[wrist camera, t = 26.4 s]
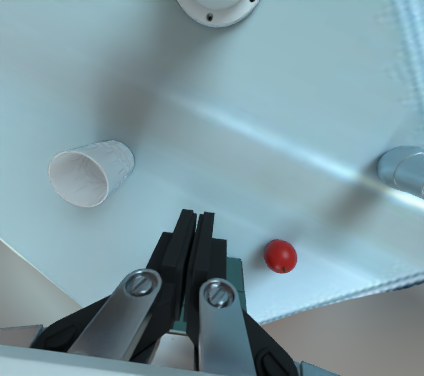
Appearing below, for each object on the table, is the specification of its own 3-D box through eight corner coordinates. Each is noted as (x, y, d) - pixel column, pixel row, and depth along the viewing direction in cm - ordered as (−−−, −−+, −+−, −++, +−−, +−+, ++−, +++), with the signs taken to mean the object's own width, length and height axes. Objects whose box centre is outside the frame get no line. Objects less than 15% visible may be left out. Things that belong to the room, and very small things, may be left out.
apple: (255, 246, 42) (260, 272, 36) (277, 228, 40) (287, 252, 34) (275, 262, 43) (283, 290, 37) (298, 245, 41) (311, 272, 35)
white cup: (146, 171, 37) (120, 196, 28) (109, 186, 39) (73, 215, 30) (122, 128, 34) (84, 140, 25) (83, 147, 36) (34, 164, 27)
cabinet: (164, 244, 43) (132, 321, 29) (243, 255, 43) (251, 337, 28) (163, 304, 50) (137, 390, 36) (230, 313, 50) (232, 403, 35)
